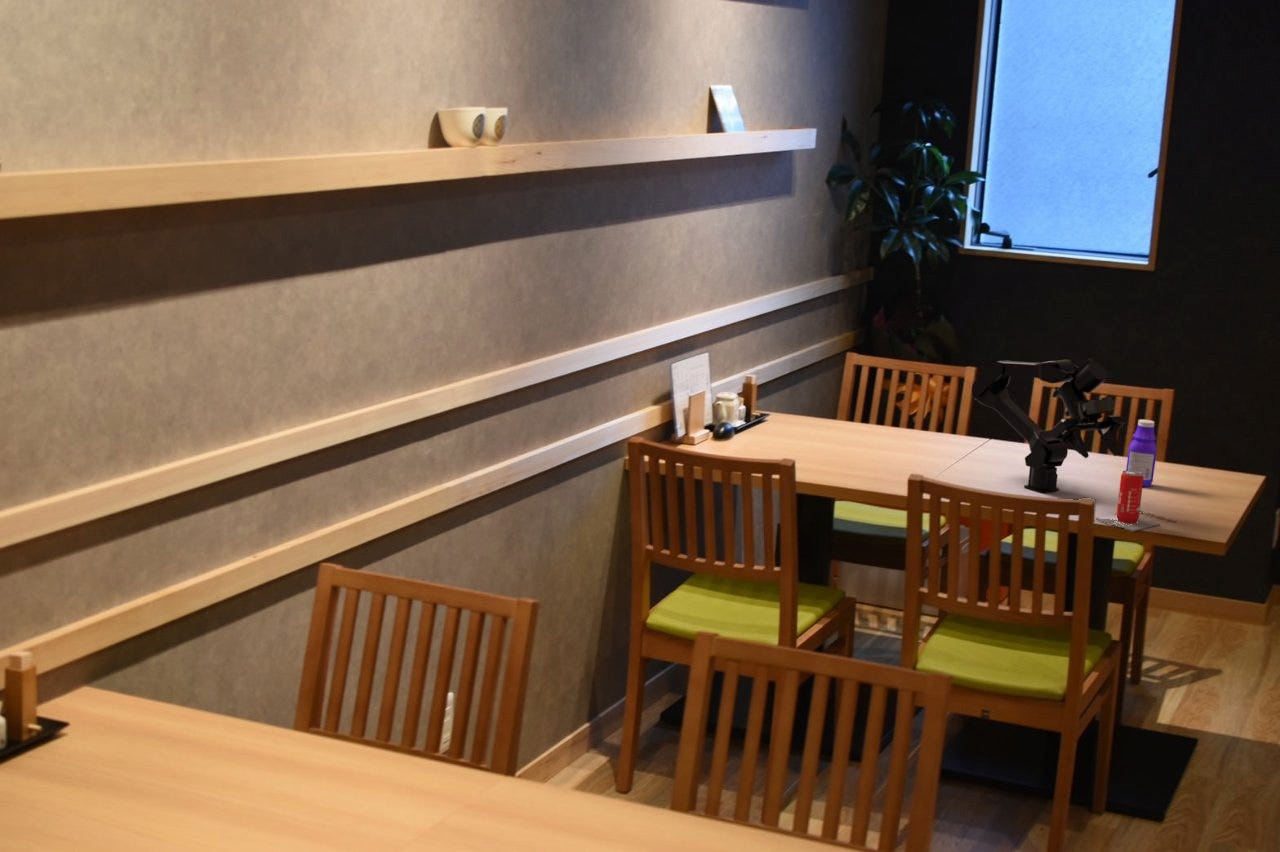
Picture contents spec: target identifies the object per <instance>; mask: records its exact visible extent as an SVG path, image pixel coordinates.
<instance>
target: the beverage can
mask: <svg viewBox="0 0 1280 852" xmlns="http://www.w3.org/2000/svg"><path fill="white" fill-rule="evenodd" d="M1143 479H1144V477H1143V473H1141V472H1138V471H1131V470H1126V469H1125V470H1122V473H1121V474H1120V483H1119V489H1118V497H1117V507H1116V514H1117V518H1118V521H1120V522H1123V523H1136V522H1137V520H1138V518H1140V513H1139V512H1140V511H1141V503H1142V495H1143Z"/></svg>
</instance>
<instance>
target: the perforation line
mask: <svg viewBox="0 0 1280 852" xmlns="http://www.w3.org/2000/svg"><path fill="white" fill-rule="evenodd" d="M1140 512H1141V513H1143V512H1144V513H1145V514H1148V515H1151V516H1154V517H1155V518H1156V519H1158V518H1159V520H1164V521H1165V520H1166V522H1170V523H1172V524H1175V523H1177V520H1175V519H1172V518H1167V519H1166V517H1164V516H1160V515H1157V516H1156V514H1154V513H1151V512H1145V511H1144V510H1140ZM1141 513H1140V514H1141ZM1144 513H1143V514H1144ZM1148 515H1147V516H1148ZM1151 516H1150V517H1151Z"/></svg>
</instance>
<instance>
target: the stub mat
mask: <svg viewBox="0 0 1280 852" xmlns="http://www.w3.org/2000/svg"><path fill="white" fill-rule="evenodd" d="M1095 518H1096V520H1098V521H1102V522H1105V523H1109V524H1113V523H1116V522H1114V521H1117V520H1113V519H1112V520H1110V519H1099V517H1095ZM1098 521H1097V522H1098ZM1117 522H1120V521H1117ZM1137 522H1138V523H1137ZM1137 522H1136V523H1125V524H1123V523H1122V522H1120V523H1121V524H1122V525H1124V526H1122V525H1121V524H1119V523H1116V524H1117V526H1120V527H1122V528H1124V529H1123V530H1125V531H1129V532H1131V533H1134V532H1138V531H1141V530H1140V529H1142V530H1145V529H1144V528H1147V529H1149V528H1148V527H1151V528H1153V527H1152V526H1155V527H1159V526H1161V523H1160V522H1156V521H1152V520H1149V519H1145V518H1143V517H1139V518H1138V520H1137ZM1105 523H1104V524H1105ZM1116 524H1113V525H1116ZM1126 524H1127V525H1126ZM1130 524H1132V525H1130ZM1128 525H1129V526H1128ZM1158 525H1159V526H1158Z"/></svg>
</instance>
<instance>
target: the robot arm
mask: <svg viewBox="0 0 1280 852" xmlns="http://www.w3.org/2000/svg"><path fill="white" fill-rule="evenodd" d="M1012 377H1022V378H1036V379H1038V380H1040V381H1041V382H1045V383H1048V384H1059V383H1063V384H1061V385H1060V386H1055V387H1054V391H1053V392H1052V398H1058V399H1059V398H1060V399H1061V400H1062V402H1063V404H1064V407H1065V408H1066V411H1065V412H1064V415H1065V417H1067V418H1061V419H1060V420H1059V422H1058V423H1057V424H1055V425H1054V426H1053V428H1052V429H1050V430H1049V429H1048V430H1043V428H1042V427H1040V426H1039V425H1038V424H1037V423H1036V422H1035V421H1034V420H1033V419H1032V418H1031V417H1030V416H1029V415H1028V414H1027V413H1025V411H1024V410H1023V409H1022V408H1020V407H1019V406H1018V404H1016V403H1015V401H1013V400H1012V399H1011V398H1010V396H1009V391H1008V387H1009V384H1010V382H1011V378H1012ZM1107 379H1108V372H1107V369H1106V368H1104V367H1103V366H1102V365H1101V364H1099V363H1098V362H1096V361H1095V360H1094V359H1093V358H1087V359H1086V360H1085V361H1084V362H1083V363H1082V364H1081V365H1080V366H1077V365H1075V364H1074V363H1073V361H1072V360H1070V359H1060V360H1050V361H1045V362H1044V361H1043V362H1033V361H1032V362H1031V361H1030V362H1029V361H1014V360H1010V359H1006V360H1004V359H1003V360H998V361H996V362H995V363H994V364H993V365H992V366H991V367H990V368H989V369H988V370H987V371H985V372H984V373H982V374H981V375H980V376H979V378H978V379H976V380H974V381H973V383H972V386H971V396H972V398H973V399H974V400H975V401H977V402H979V403H980V404H981V405H983V406H985V407H988V408H991V409H993V410H995V411H996V412H997V413H998V414H999V415H1000V416H1001V417H1002V418H1003V419H1004V420H1005V421H1006V422H1007V423H1008V424H1009V425H1010V426H1011V427H1012V428H1013V429H1014V430H1015V431H1016V432H1017V433H1018V434H1019V435H1020V436H1021V437H1022V438H1024V440H1026V442H1027V443H1028V446H1029V450H1030V453H1029V454H1027V455H1026V456H1025V457H1024V462H1025V466H1026V467H1029V473H1028V481H1027V482H1028V483H1027V484H1026V485H1025V484H1024V485H1023V488H1025V489H1029V490H1032V491H1036V492H1039V493H1044V494H1045V493H1051V492H1054V491H1059V489H1060V488H1059V487H1057V483H1058V472H1057V470H1058V467H1062V466H1063V463H1064V461H1065V460H1066V459H1067V456H1068V451H1069V449H1068V447H1070V448H1071V449H1073V450H1074V451H1076V453H1078V454H1079V455H1081V456H1082V457H1083V458H1085V459H1087V458H1089V451H1088V450H1087V446H1086V444H1085V443H1084V440H1083V438H1082V432H1085V431H1097V433H1098V434H1099V435H1100V439H1101V441H1102V442H1103V444H1105V446H1106V447H1107V449H1108V450H1109V451H1110V453H1111V454H1112V455H1113V456H1115V457H1116V456H1117V455H1118V454H1119V452H1118V451H1119V449H1118V432H1119V430H1121V428H1122V427H1123V426H1124V425H1125V424H1126V422H1125V420H1124V418H1123V416H1121V415H1117V414H1116V415H1115V414H1114V415H1107V416H1105V418H1103V420H1101V421H1099V420H1100V419H1101V418H1102V417H1103V414H1106V413H1111V412H1112V410H1114V409H1115V406H1116V405H1115V401H1114V399H1113V398H1112V396H1105V397H1101V399H1100V398H1099V399H1094V400H1093V399H1089V398H1088V396H1087V395H1086V393H1087V394H1091V393H1092V392H1093V391H1095V390H1096V389H1097V388H1098V387H1099V386H1100V385H1102V384H1103V383H1104V382H1105V381H1106V380H1107ZM1068 417H1069V418H1068Z"/></svg>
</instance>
